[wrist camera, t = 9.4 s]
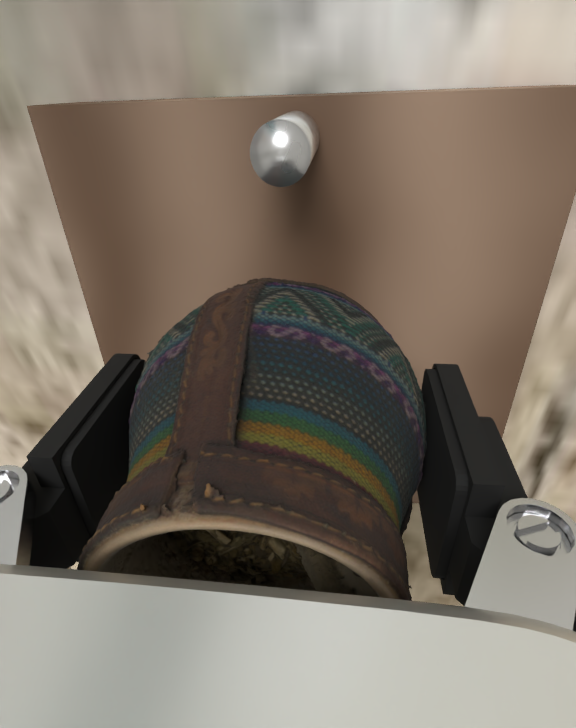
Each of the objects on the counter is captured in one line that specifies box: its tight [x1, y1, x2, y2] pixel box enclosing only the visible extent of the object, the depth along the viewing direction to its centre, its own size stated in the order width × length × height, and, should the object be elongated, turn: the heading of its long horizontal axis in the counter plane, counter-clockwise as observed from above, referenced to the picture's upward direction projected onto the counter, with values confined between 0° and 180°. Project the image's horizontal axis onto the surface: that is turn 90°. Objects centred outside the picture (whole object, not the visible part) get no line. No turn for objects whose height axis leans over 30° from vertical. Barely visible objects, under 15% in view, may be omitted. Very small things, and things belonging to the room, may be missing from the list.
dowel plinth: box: [27, 85, 576, 503], centre depth 14 cm, size 14×14×6 cm
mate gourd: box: [77, 278, 427, 601], centre depth 10 cm, size 7×8×10 cm
